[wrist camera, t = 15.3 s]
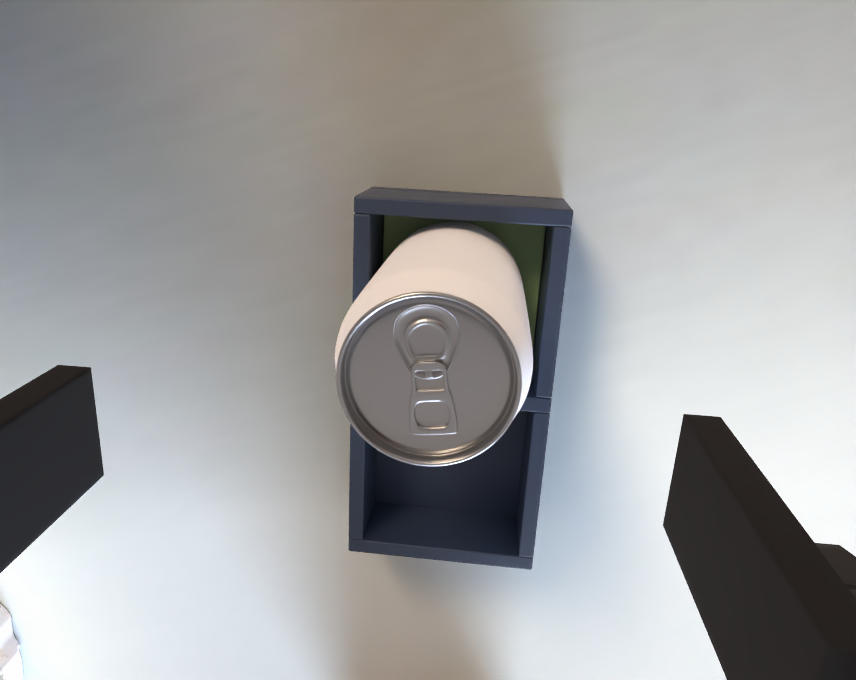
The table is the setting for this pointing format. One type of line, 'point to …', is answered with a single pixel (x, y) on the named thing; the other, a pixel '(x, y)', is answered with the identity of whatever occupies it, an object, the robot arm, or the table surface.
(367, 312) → the can
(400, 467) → the tray
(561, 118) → the table surface
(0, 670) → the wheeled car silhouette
